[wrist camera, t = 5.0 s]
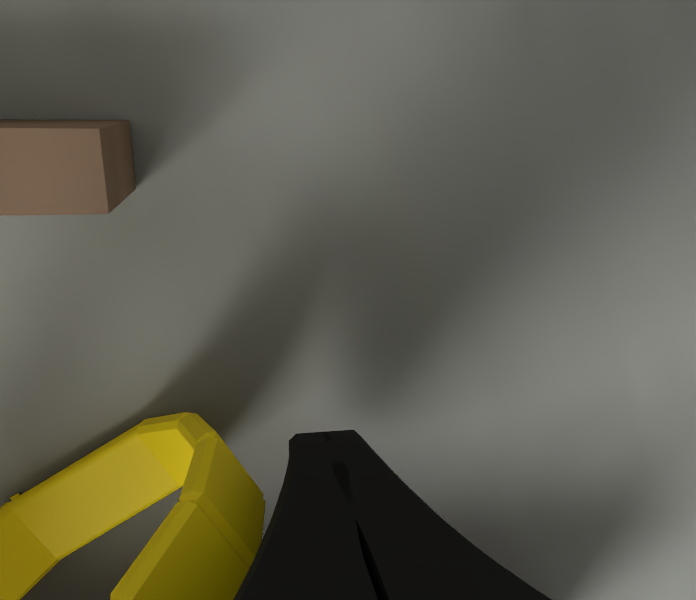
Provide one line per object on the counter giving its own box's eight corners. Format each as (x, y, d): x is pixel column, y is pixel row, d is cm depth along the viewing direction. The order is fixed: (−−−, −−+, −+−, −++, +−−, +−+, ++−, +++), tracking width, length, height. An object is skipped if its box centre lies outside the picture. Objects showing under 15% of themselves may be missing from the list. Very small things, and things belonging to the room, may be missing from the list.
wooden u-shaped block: (601, 123, 10) (807, 143, 6) (525, 652, 14) (630, 859, 10) (-575, 115, 8) (-1339, 140, 4) (-284, 759, 11) (-540, 1083, 8)
